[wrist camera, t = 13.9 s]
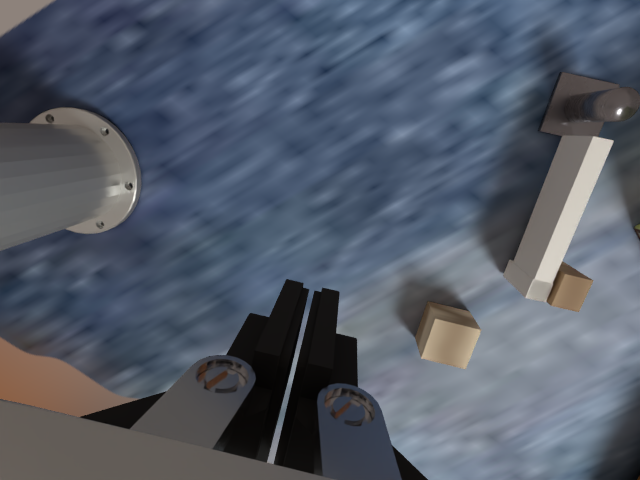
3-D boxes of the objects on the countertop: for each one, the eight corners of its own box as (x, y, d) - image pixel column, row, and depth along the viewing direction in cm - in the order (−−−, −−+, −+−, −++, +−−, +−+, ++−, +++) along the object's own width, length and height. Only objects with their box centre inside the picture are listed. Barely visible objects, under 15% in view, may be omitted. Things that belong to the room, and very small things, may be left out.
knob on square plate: (538, 131, 34) (575, 131, 29) (559, 72, 33) (603, 60, 27) (592, 143, 34) (640, 145, 29) (616, 85, 33) (672, 75, 27)
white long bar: (556, 135, 34) (592, 135, 29) (576, 139, 34) (615, 141, 29) (502, 275, 38) (525, 297, 33) (520, 279, 38) (545, 302, 33)
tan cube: (415, 337, 41) (421, 358, 38) (427, 300, 40) (435, 318, 36) (455, 347, 41) (465, 369, 38) (469, 310, 40) (481, 330, 36)
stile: (519, 278, 38) (548, 305, 33) (530, 251, 38) (562, 273, 32) (545, 284, 38) (578, 312, 33) (556, 257, 38) (593, 280, 32)
